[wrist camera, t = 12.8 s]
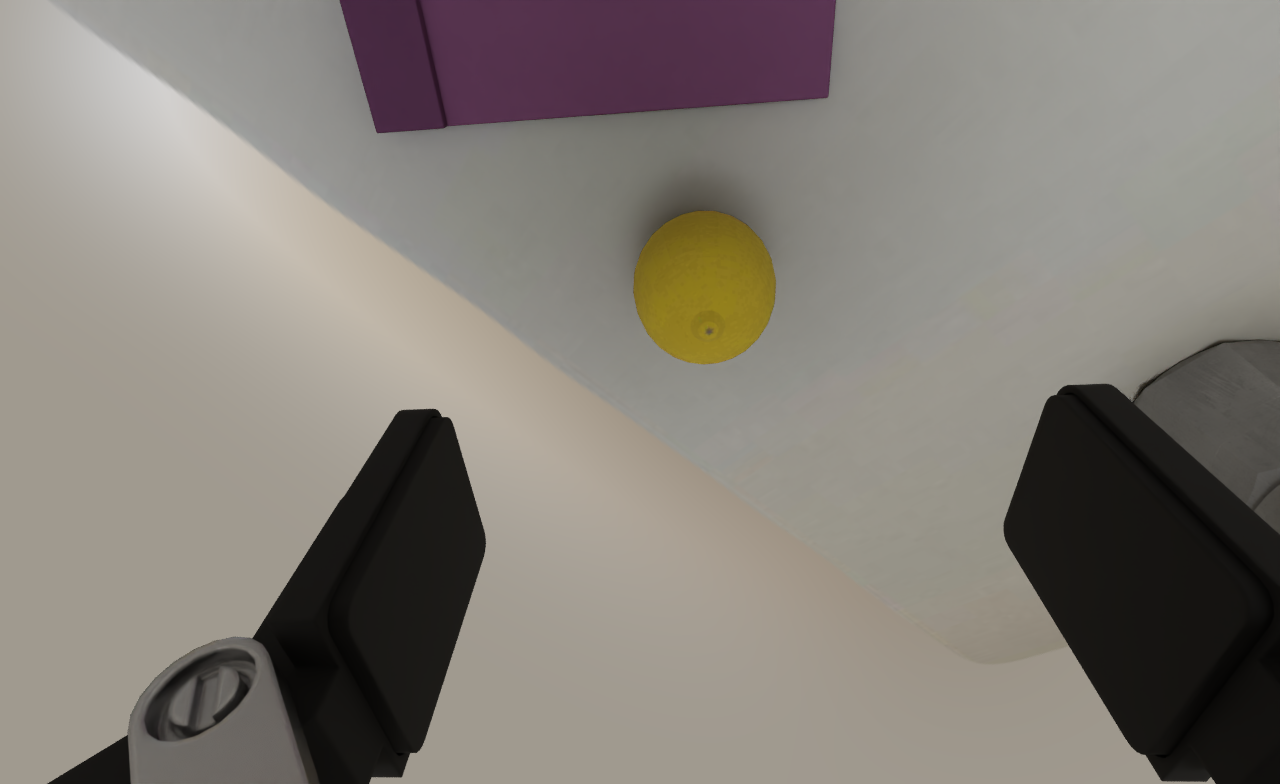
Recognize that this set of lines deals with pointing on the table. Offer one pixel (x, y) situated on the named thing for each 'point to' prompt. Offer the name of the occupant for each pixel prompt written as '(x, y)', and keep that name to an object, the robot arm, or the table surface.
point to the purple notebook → (582, 57)
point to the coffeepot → (1227, 417)
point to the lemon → (704, 287)
